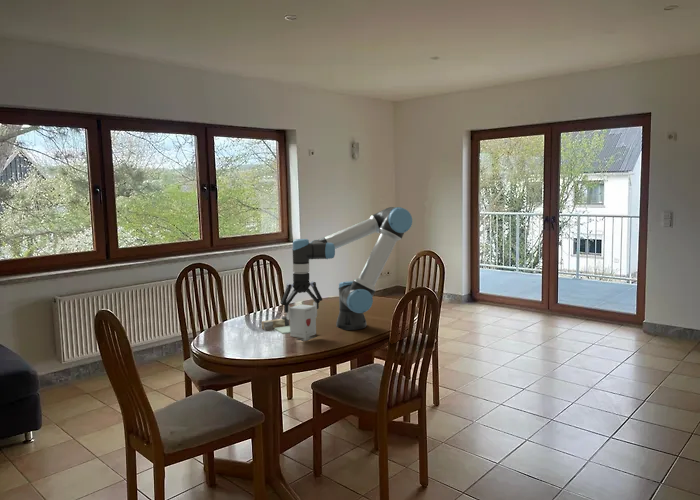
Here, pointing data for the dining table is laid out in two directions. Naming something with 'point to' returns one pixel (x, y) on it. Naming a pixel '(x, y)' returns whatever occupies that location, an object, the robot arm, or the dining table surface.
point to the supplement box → (303, 322)
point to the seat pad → (283, 329)
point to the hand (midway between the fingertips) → (302, 317)
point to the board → (268, 325)
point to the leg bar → (278, 322)
